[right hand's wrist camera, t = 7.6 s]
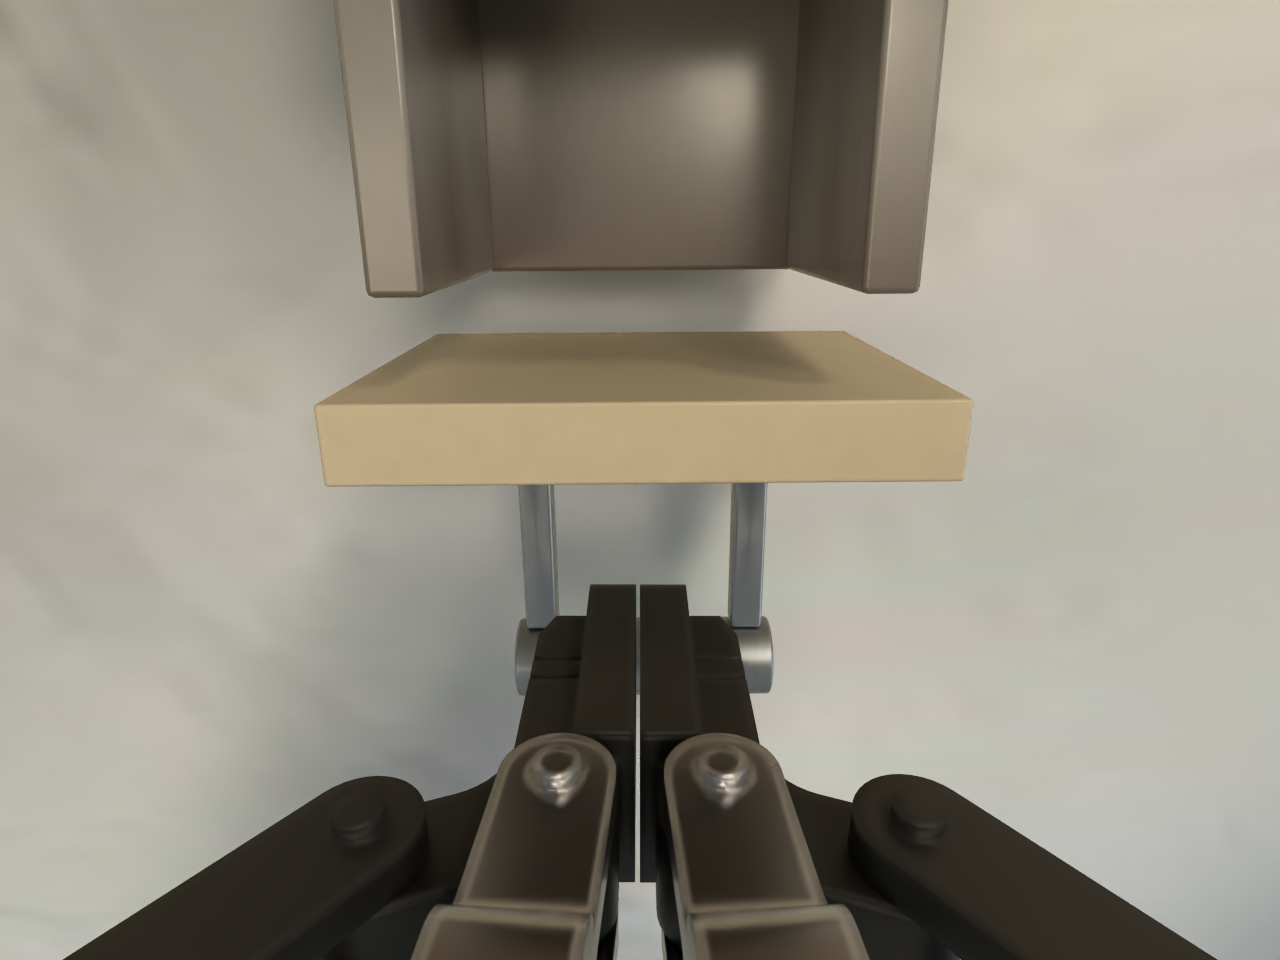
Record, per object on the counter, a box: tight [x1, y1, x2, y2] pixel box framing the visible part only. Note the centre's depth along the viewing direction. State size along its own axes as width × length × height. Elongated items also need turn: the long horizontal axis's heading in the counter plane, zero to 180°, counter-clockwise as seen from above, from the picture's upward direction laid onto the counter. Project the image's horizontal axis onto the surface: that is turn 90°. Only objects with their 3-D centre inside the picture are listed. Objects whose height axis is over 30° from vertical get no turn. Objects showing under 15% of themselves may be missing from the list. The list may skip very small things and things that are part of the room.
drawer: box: [314, 0, 973, 696], centre depth 13 cm, size 25×9×7 cm, turn 0°
